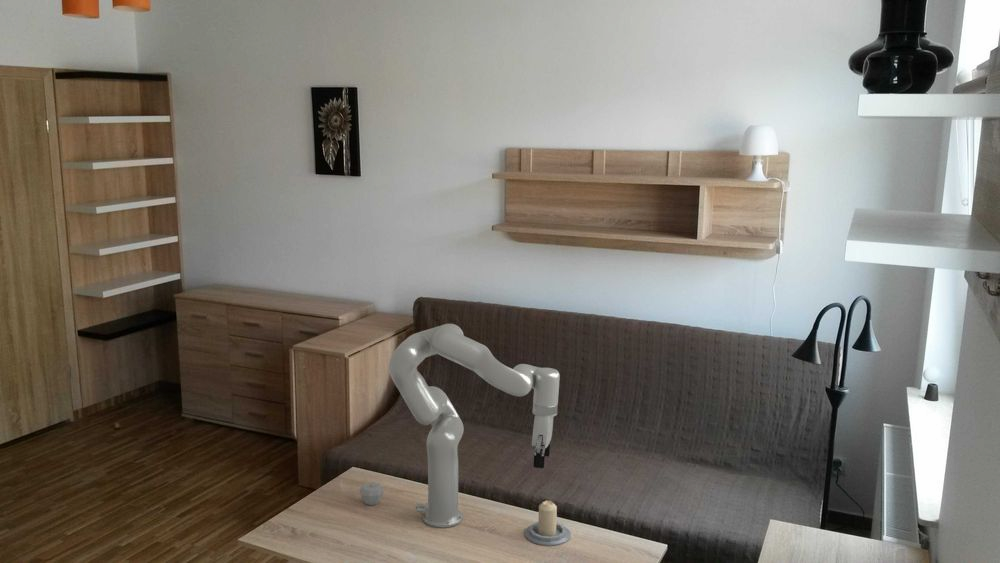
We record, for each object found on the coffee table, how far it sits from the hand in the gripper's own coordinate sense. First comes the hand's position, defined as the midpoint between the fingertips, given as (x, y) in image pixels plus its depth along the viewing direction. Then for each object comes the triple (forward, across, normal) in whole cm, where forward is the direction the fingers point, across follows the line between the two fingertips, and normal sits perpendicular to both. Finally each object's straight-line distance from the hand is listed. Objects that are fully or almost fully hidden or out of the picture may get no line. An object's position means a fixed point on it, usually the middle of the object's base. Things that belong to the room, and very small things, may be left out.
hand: (541, 461), depth 255 cm
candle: (+21, +4, +4) cm, 22 cm away
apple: (+24, -3, -56) cm, 61 cm away
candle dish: (+22, +4, +4) cm, 22 cm away
